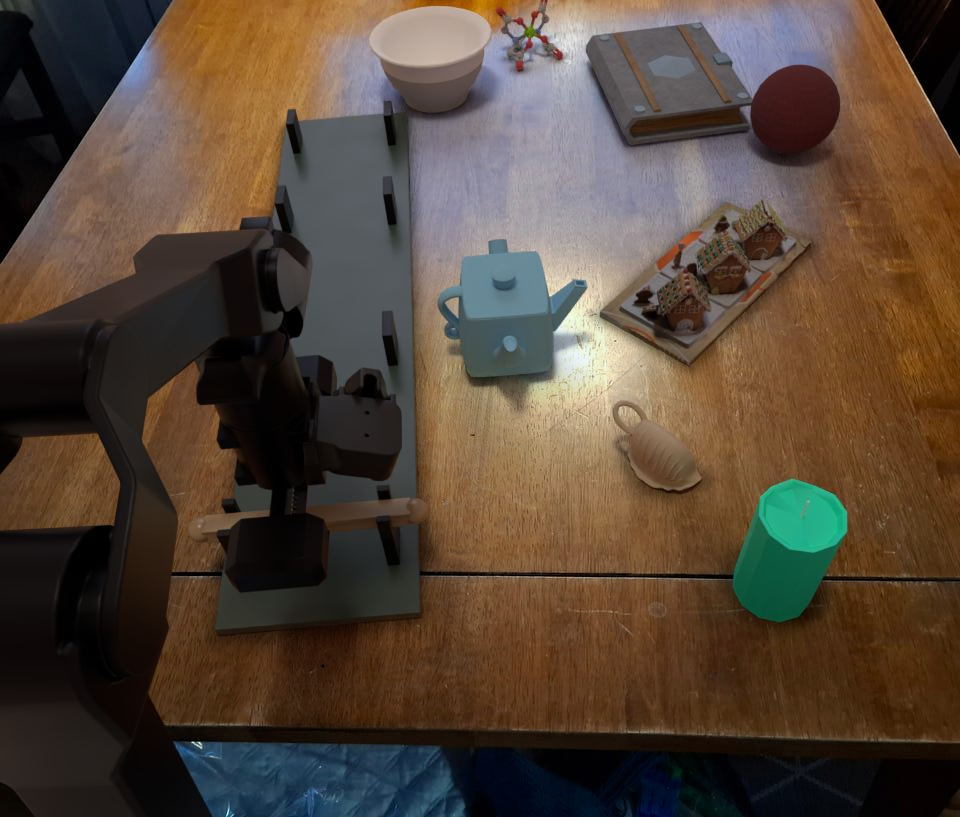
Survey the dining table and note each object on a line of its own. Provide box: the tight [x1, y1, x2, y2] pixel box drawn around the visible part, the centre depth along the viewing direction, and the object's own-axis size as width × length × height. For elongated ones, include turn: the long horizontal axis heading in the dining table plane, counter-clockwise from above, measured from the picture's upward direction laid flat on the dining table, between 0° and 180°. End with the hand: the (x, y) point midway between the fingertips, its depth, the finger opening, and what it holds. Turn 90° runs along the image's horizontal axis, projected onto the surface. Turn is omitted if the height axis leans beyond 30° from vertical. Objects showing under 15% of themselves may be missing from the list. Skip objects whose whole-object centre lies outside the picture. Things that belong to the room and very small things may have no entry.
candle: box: [732, 478, 848, 623], centre depth 62 cm, size 6×6×12 cm
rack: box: [214, 100, 422, 636], centre depth 87 cm, size 72×16×8 cm, turn 4°
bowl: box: [368, 5, 493, 114], centre depth 113 cm, size 16×16×9 cm
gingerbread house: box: [599, 198, 813, 367], centre depth 87 cm, size 11×23×7 cm, turn 137°
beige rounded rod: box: [187, 497, 429, 544], centre depth 66 cm, size 2×19×2 cm, turn 94°
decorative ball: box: [749, 64, 841, 155], centre depth 100 cm, size 10×10×10 cm
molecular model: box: [495, 0, 564, 71], centre depth 119 cm, size 7×8×8 cm
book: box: [585, 21, 753, 146], centre depth 111 cm, size 21×16×5 cm
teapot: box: [437, 238, 588, 378], centre depth 81 cm, size 18×14×10 cm
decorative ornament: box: [611, 399, 703, 492], centre depth 73 cm, size 4×8×5 cm, turn 38°
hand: (310, 527), depth 67 cm, fingers open, 8 cm apart
